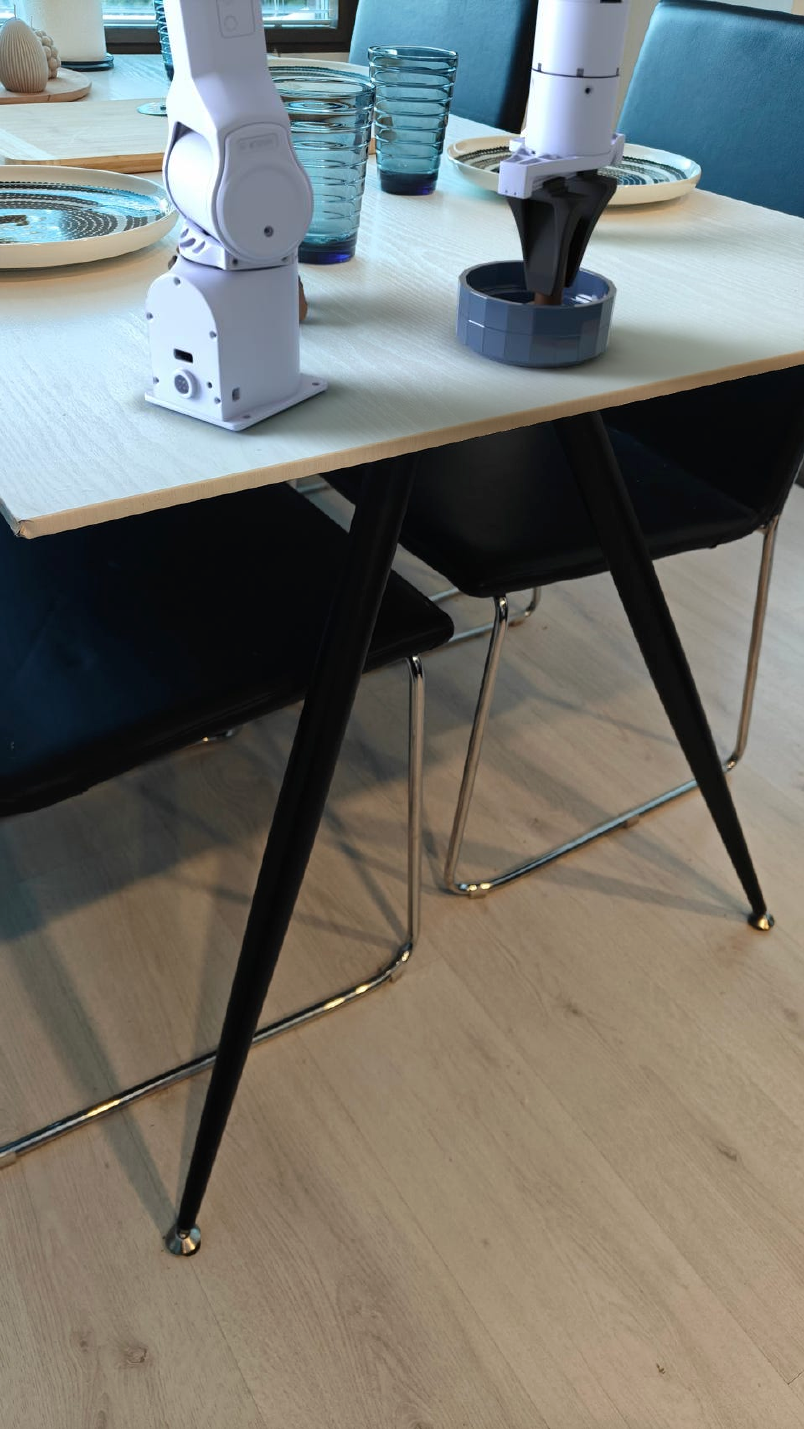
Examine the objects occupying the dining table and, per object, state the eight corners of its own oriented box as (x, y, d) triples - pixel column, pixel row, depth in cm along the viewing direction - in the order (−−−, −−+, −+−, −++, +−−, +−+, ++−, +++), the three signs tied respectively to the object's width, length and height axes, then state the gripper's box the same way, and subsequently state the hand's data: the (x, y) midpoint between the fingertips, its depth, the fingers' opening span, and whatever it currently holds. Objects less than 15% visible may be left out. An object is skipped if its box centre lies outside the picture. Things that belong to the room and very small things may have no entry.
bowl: (562, 384, 76) (571, 319, 73) (425, 346, 81) (429, 284, 78) (631, 341, 83) (641, 280, 81) (502, 309, 88) (508, 251, 86)
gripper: (571, 54, 77) (548, 256, 85) (464, 75, 67) (449, 300, 75) (665, 66, 74) (630, 274, 82) (566, 89, 64) (539, 322, 72)
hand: (549, 288), depth 79 cm, fingers closed
